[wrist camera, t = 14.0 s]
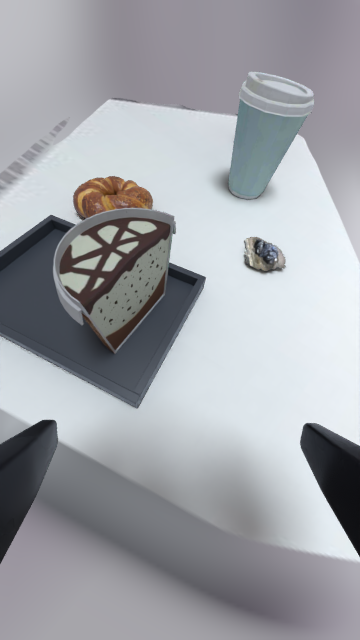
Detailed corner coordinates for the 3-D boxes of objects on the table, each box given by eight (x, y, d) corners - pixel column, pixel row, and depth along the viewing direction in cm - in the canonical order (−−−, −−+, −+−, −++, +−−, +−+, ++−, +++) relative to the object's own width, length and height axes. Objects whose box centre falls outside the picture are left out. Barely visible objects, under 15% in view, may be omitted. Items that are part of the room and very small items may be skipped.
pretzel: (150, 191, 40) (149, 168, 37) (156, 230, 34) (155, 207, 31) (79, 190, 38) (72, 166, 35) (73, 232, 33) (64, 208, 30)
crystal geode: (251, 277, 31) (256, 267, 29) (230, 239, 35) (233, 228, 33) (293, 271, 32) (300, 261, 31) (268, 235, 36) (273, 224, 35)
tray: (137, 408, 21) (135, 404, 19) (-51, 308, 25) (-66, 297, 23) (203, 287, 29) (206, 277, 28) (56, 227, 33) (50, 214, 31)
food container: (132, 266, 29) (121, 188, 21) (171, 287, 28) (177, 213, 20) (59, 335, 23) (3, 265, 15) (105, 365, 22) (72, 308, 14)
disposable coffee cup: (247, 172, 47) (281, 65, 34) (284, 199, 42) (339, 88, 30) (206, 183, 43) (227, 68, 30) (243, 213, 39) (285, 94, 26)
